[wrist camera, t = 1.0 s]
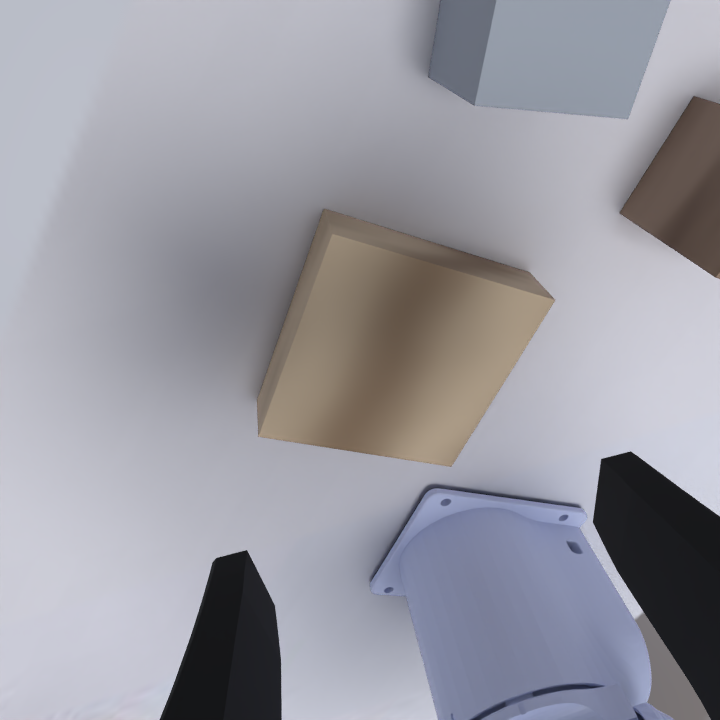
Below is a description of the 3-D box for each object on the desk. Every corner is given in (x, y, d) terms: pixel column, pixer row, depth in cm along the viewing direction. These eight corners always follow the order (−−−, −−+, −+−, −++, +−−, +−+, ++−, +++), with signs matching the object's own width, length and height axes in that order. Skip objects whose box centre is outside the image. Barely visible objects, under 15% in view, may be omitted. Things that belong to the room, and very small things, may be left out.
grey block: (600, -80, 14) (703, -90, 11) (553, 88, 17) (627, 119, 14) (456, -104, 14) (522, -123, 10) (427, 76, 16) (474, 105, 13)
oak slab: (524, 267, 21) (555, 300, 19) (434, 425, 25) (451, 466, 23) (322, 203, 18) (332, 234, 16) (256, 393, 22) (258, 436, 20)
